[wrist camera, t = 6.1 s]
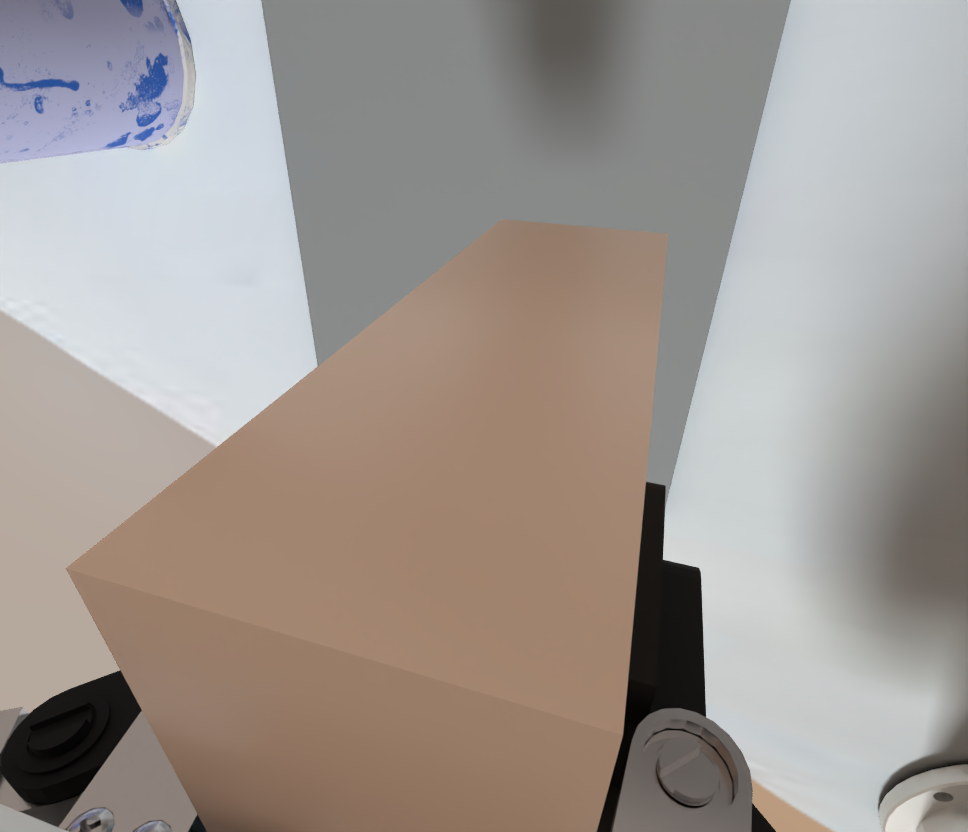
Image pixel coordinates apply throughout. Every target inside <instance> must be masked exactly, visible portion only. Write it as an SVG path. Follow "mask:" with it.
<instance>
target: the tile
mask: <svg viewBox="0 0 968 832" xmlns="http://www.w3.org/2000/svg"><path fill="white" fill-rule="evenodd" d="M667 243H668V234H667V233H655V232H644V231H632V230H621V229H609V228H598V227H586V226H575V225H563V224H552V223H540V222H529V221H517V220H506V219H501V220H500V221H499V222H497V223H496V224H495V225H494V226H492V227H491V228H490V229H489V230H487V231H486V232H485V233H484V234H483V235H481V236H480V237H479V238H478V239H476V240H475V241H474V242H473V243H471V244H470V245H469V246H468V247H466V248H465V249H464V250H463V251H461V252H460V253H459V254H458V255H456V256H455V257H454V258H453V259H451V260H450V261H449V262H448V263H446V264H445V265H444V266H443V267H441V268H440V269H439V270H438V271H436V272H435V273H434V274H433V275H431V276H430V277H429V278H428V279H426V280H425V281H424V282H423V283H421V284H420V285H419V286H418V287H416V288H415V289H414V290H413V291H411V292H410V293H409V294H408V295H406V296H405V297H404V298H403V299H401V300H400V301H399V302H398V303H396V304H395V305H394V306H393V307H391V308H390V309H389V310H388V311H386V312H385V313H384V314H383V315H381V316H380V317H379V318H378V319H376V320H375V321H374V322H373V323H372V324H370V325H369V326H368V327H367V328H365V329H364V330H363V331H362V332H360V333H359V334H358V335H357V336H355V337H354V338H353V339H352V340H350V341H349V342H348V343H347V344H345V345H344V346H343V347H342V348H340V349H339V350H338V351H337V352H335V353H334V354H333V355H332V356H330V357H329V358H328V359H327V360H325V361H324V362H323V363H322V364H320V365H319V366H318V367H317V368H315V369H314V370H313V371H312V372H310V373H309V374H308V375H307V376H305V377H304V378H303V379H302V380H300V381H299V382H298V383H297V384H295V385H294V386H293V387H292V388H290V389H289V390H288V391H287V392H285V393H284V394H283V395H282V396H280V397H279V398H278V399H277V400H275V401H274V402H273V403H272V404H270V405H269V406H268V407H267V408H266V409H264V410H263V411H262V412H261V413H259V414H258V415H257V416H256V417H254V418H253V419H252V420H251V421H249V422H248V423H247V424H246V425H244V426H243V427H242V428H241V429H239V430H238V431H237V432H236V433H234V434H233V435H232V436H231V437H229V438H228V439H227V440H226V441H224V442H223V443H222V444H221V445H219V446H218V447H217V448H216V449H214V450H213V451H212V452H211V453H209V454H208V455H207V456H206V457H205V458H203V459H202V460H201V461H199V462H198V463H197V464H196V465H194V466H193V467H192V468H191V469H189V470H188V471H187V472H186V473H184V474H183V475H182V476H181V477H179V478H178V479H177V480H176V481H174V482H173V483H172V484H171V485H169V486H168V487H167V488H166V489H165V490H163V491H162V492H161V493H159V494H158V495H157V496H156V497H155V498H153V499H152V500H151V501H150V502H148V503H147V504H146V505H145V506H143V507H142V508H141V509H140V510H138V511H137V512H136V513H135V514H133V515H132V516H131V517H130V518H128V519H127V520H126V521H125V522H123V523H122V524H121V525H120V526H118V527H117V528H116V529H115V530H114V531H112V532H111V533H110V534H108V535H107V536H106V537H105V538H103V539H102V540H101V541H100V542H99V543H97V544H96V545H95V546H93V547H92V548H91V549H90V550H88V551H87V552H86V553H85V554H83V555H82V556H81V557H80V558H78V559H77V560H76V561H75V562H73V563H72V564H71V565H70V566H68V567H67V568H66V569H67V571H68V573H69V575H70V577H71V579H72V581H73V582H74V584H75V586H76V588H77V590H78V592H79V594H80V595H81V597H82V599H83V601H84V603H85V605H86V606H87V609H88V610H89V612H90V614H91V616H92V618H93V620H94V622H95V623H96V625H97V627H98V629H99V631H100V633H101V635H102V637H103V638H104V640H105V642H106V644H107V646H108V648H109V650H110V652H111V653H112V655H113V657H114V659H115V661H116V663H117V665H118V666H119V668H120V670H121V672H122V674H123V676H124V678H125V680H126V681H127V683H128V685H129V687H130V689H131V691H132V693H133V694H134V696H135V698H136V700H137V702H138V704H139V706H140V708H141V709H142V711H143V713H144V715H145V717H146V719H147V721H148V722H149V724H150V726H151V728H152V730H153V732H154V734H155V736H156V737H157V739H158V741H159V743H160V745H161V747H162V749H163V751H164V752H165V754H166V756H167V758H168V760H169V762H170V764H171V765H172V767H173V769H174V771H175V773H176V775H177V777H178V779H179V780H180V782H181V784H182V786H183V788H184V790H185V792H186V793H187V795H188V797H189V799H190V801H191V803H192V805H193V807H194V808H195V810H196V812H197V814H198V816H199V818H200V820H201V822H202V823H203V825H204V827H205V829H206V831H207V832H597V829H598V825H599V821H600V818H601V814H602V810H603V807H604V803H605V799H606V796H607V792H608V788H609V785H610V781H611V777H612V774H613V770H614V766H615V763H616V759H617V755H618V752H619V748H620V744H621V741H622V737H623V730H624V719H625V708H626V697H627V686H628V675H629V664H630V653H631V641H632V630H633V619H634V608H635V597H636V586H637V575H638V564H639V553H640V542H641V531H642V520H643V509H644V497H645V486H646V475H647V464H648V453H649V442H650V431H651V420H652V409H653V398H654V387H655V376H656V365H657V354H658V342H659V331H660V320H661V309H662V298H663V287H664V276H665V265H666V254H667Z"/></svg>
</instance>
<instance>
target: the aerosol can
mask: <svg viewBox="0 0 968 832" xmlns="http://www.w3.org/2000/svg"><path fill="white" fill-rule="evenodd" d="M195 78H196V73H195V67H194V61H193V54H192V48H191V42H190V38H189V35H188V33H187V30H186V27H185V25H184V22H183V19H182V17H181V14H180V11H179V9H178V6H177V4H176V2H175V0H0V163H7V162H15V161H23V160H30V159H38V158H46V157H54V156H62V155H69V154H77V153H85V152H93V151H100V150H108V149H116V148H124V147H127V148H132V149H138V150H145V149H150V148H154V147H158V146H161V145H165V144H168V143H169V142H170V141H171V140H172V139H174V138H175V137H176V136H177V135H178V134H179V133H180V132H181V131H182V130H183V129H184V127H185V124H186V122H187V120H188V117H189V115H190V112H191V110H192V107H193V103H194V91H195Z"/></svg>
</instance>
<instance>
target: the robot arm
mask: <svg viewBox="0 0 968 832" xmlns="http://www.w3.org/2000/svg"><path fill="white" fill-rule="evenodd" d="M665 494H666V486H665V485H661V484H656V483H651V482H646V486H645V497H644V509H643V520H642V531H641V542H640V553H639V564H638V575H637V586H636V597H635V608H634V619H633V630H632V641H631V653H630V664H629V675H628V686H627V697H626V708H625V719H624V730H623V737H622V741H621V744H620V748H619V752H618V755H617V759H616V763H615V766H614V770H613V774H612V777H611V781H610V785H609V788H608V792H607V796H606V799H605V803H604V807H603V810H602V814H601V818H600V821H599V825H598V829H597V832H776V831H775V830H774V829H773V827H772V826H771V825H770V824H769V823H768V821H767V820H766V819H765V818H764V817H763V816H762V814H761V813H760V812H759V811H758V810H757V808H755V806H754V805H753V803H752V783H751V775H750V770H749V768H748V765H747V763H746V761H745V758H744V756H743V754H742V752H741V750H740V749H739V748H738V746H737V745H736V744H735V742H734V741H733V740H732V738H731V737H730V735H728V734H727V733H726V732H725V731H724V730H723V729H722V728H720V727H719V726H718V725H717V724H716V723H715V722H713V721H711V720H710V719H708V718H706V705H705V677H704V648H703V620H702V591H701V573H700V570H699V568H697V567H692V566H688V565H683V564H679V563H674V562H670V561H665V560H663V541H664V517H665ZM879 820H880V824H881V828H882V832H968V764H961V765H953V766H947V767H942V768H937V769H932V770H929V771H926V772H923V773H920V774H917V775H914V776H912V777H910V778H908V779H906V780H904V781H903V782H901V783H899V784H897V785H896V786H895V787H894V788H893V789H892V790H891V791H890V792H888V793H887V794H886V795H885V797H884V799H883V801H882V803H881V804H880V808H879ZM0 832H207V831H206V829H205V827H204V825H203V823H202V822H201V820H200V818H199V816H198V814H197V812H196V810H195V808H194V807H193V805H192V803H191V801H190V799H189V797H188V795H187V793H186V792H185V790H184V788H183V786H182V784H181V782H180V780H179V779H178V777H177V775H176V773H175V771H174V769H173V767H172V765H171V764H170V762H169V760H168V758H167V756H166V754H165V752H164V751H163V749H162V747H161V745H160V743H159V741H158V739H157V737H156V736H155V734H154V732H153V730H152V728H151V726H150V724H149V722H148V721H147V719H146V717H145V715H144V713H143V711H142V709H141V708H140V706H139V704H138V702H137V700H136V698H135V696H134V694H133V693H132V691H131V689H130V687H129V685H128V683H127V681H126V680H125V678H124V676H123V674H122V672H121V670H120V671H117V672H115V673H112V674H109V675H107V676H104V677H101V678H98V679H96V680H93V681H90V682H88V683H85V684H82V685H79V686H77V687H74V688H71V689H69V690H67V691H64V692H62V693H60V694H58V695H56V696H54V697H52V698H50V699H49V700H47V701H46V702H44V703H43V704H42V705H40V706H39V707H37V708H36V709H34V710H33V711H32V712H31V713H27V712H26V711H25V709H24V708H23V707H20V708H14V709H9V710H3V711H0Z"/></svg>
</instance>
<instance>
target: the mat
mask: <svg viewBox="0 0 968 832" xmlns="http://www.w3.org/2000/svg"><path fill="white" fill-rule="evenodd" d="M261 1H262V8H263V14H264V20H265V27H266V33H267V40H268V46H269V53H270V59H271V66H272V72H273V79H274V85H275V92H276V98H277V105H278V111H279V118H280V124H281V131H282V137H283V144H284V150H285V157H286V163H287V170H288V176H289V183H290V189H291V195H292V202H293V208H294V215H295V221H296V228H297V234H298V241H299V247H300V254H301V260H302V267H303V273H304V280H305V286H306V293H307V299H308V306H309V312H310V319H311V325H312V332H313V338H314V345H315V351H316V358H317V364H318V366H319V365H320V364H322V363H323V362H324V361H325V360H327V359H328V358H329V357H330V356H332V355H333V354H334V353H335V352H337V351H338V350H339V349H340V348H342V347H343V346H344V345H345V344H347V343H348V342H349V341H350V340H352V339H353V338H354V337H355V336H357V335H358V334H359V333H360V332H362V331H363V330H364V329H365V328H367V327H368V326H369V325H370V324H372V323H373V322H374V321H375V320H376V319H378V318H379V317H380V316H381V315H383V314H384V313H385V312H386V311H388V310H389V309H390V308H391V307H393V306H394V305H395V304H396V303H398V302H399V301H400V300H401V299H403V298H404V297H405V296H406V295H408V294H409V293H410V292H411V291H413V290H414V289H415V288H416V287H418V286H419V285H420V284H421V283H423V282H424V281H425V280H426V279H428V278H429V277H430V276H431V275H433V274H434V273H435V272H436V271H438V270H439V269H440V268H441V267H443V266H444V265H445V264H446V263H448V262H449V261H450V260H451V259H453V258H454V257H455V256H456V255H458V254H459V253H460V252H461V251H463V250H464V249H465V248H466V247H468V246H469V245H470V244H471V243H473V242H474V241H475V240H476V239H478V238H479V237H480V236H481V235H483V234H484V233H485V232H486V231H487V230H489V229H490V228H491V227H492V226H494V225H495V224H496V223H497V222H499V221H500V220H501V219H506V220H517V221H529V222H540V223H552V224H563V225H575V226H586V227H598V228H609V229H621V230H632V231H644V232H655V233H667V234H668V243H667V254H666V265H665V276H664V287H663V298H662V309H661V320H660V331H659V342H658V354H657V365H656V376H655V387H654V398H653V409H652V420H651V431H650V442H649V453H648V464H647V475H646V482H651V483H656V484H661V485H665V486H666V494H665V505H666V501H667V497H668V493H669V489H670V485H671V481H672V477H673V473H674V469H675V465H676V461H677V457H678V453H679V449H680V445H681V441H682V437H683V433H684V429H685V425H686V421H687V417H688V413H689V409H690V405H691V400H692V396H693V392H694V388H695V384H696V380H697V376H698V372H699V368H700V364H701V360H702V356H703V352H704V348H705V344H706V340H707V336H708V332H709V328H710V324H711V320H712V316H713V312H714V308H715V304H716V300H717V295H718V291H719V287H720V283H721V279H722V275H723V271H724V267H725V263H726V259H727V255H728V251H729V247H730V243H731V239H732V235H733V231H734V227H735V223H736V219H737V215H738V211H739V207H740V203H741V199H742V195H743V191H744V186H745V182H746V178H747V174H748V170H749V166H750V162H751V158H752V154H753V150H754V146H755V142H756V138H757V134H758V130H759V126H760V122H761V118H762V114H763V110H764V106H765V102H766V98H767V94H768V90H769V86H770V81H771V77H772V73H773V69H774V65H775V61H776V57H777V53H778V49H779V45H780V41H781V37H782V33H783V29H784V25H785V21H786V17H787V13H788V9H789V5H790V1H791V0H261Z"/></svg>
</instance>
